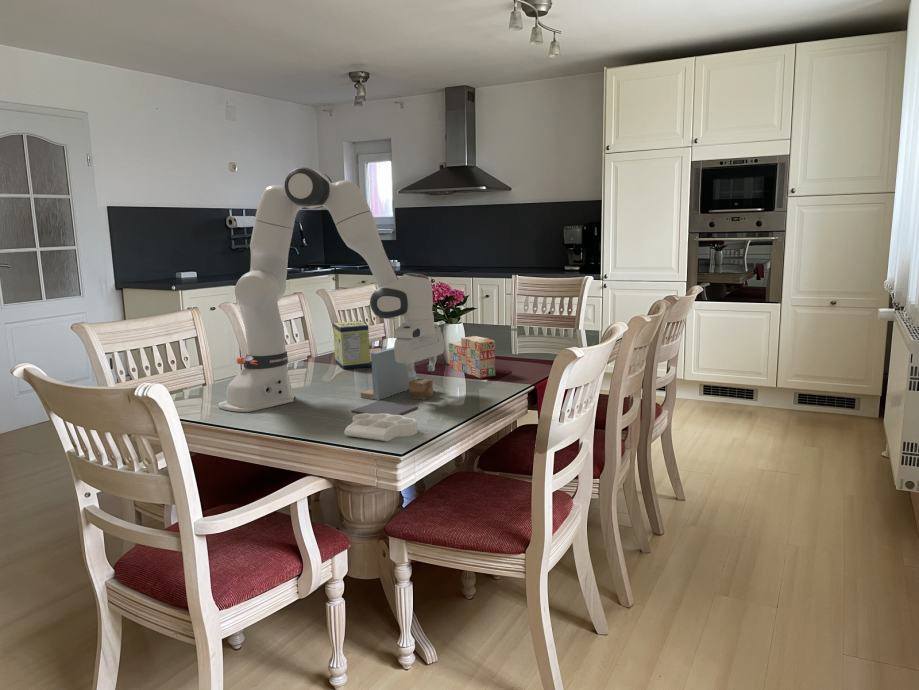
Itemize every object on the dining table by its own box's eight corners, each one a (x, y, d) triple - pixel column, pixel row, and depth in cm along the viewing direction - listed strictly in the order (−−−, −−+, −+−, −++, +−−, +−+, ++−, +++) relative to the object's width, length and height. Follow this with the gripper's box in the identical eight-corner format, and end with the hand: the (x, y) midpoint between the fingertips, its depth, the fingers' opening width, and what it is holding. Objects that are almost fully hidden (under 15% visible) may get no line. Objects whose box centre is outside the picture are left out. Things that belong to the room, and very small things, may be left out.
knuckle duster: (334, 437, 165) (368, 421, 178) (396, 446, 157) (427, 429, 170) (333, 424, 165) (367, 409, 178) (395, 432, 157) (426, 416, 170)
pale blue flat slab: (378, 400, 199) (376, 353, 196) (360, 397, 203) (358, 351, 200) (415, 387, 214) (413, 343, 211) (398, 385, 217) (396, 342, 215)
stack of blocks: (449, 368, 243) (448, 334, 241) (464, 365, 246) (463, 332, 244) (480, 378, 224) (479, 342, 222) (496, 375, 227) (495, 340, 225)
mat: (390, 418, 179) (390, 416, 179) (351, 412, 186) (351, 410, 186) (418, 408, 189) (417, 406, 188) (379, 402, 196) (379, 400, 196)
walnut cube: (423, 400, 198) (422, 382, 197) (409, 398, 201) (408, 381, 200) (433, 396, 202) (432, 379, 201) (419, 394, 205) (419, 377, 204)
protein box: (361, 359, 262) (359, 320, 260) (371, 367, 248) (368, 325, 245) (334, 362, 259) (332, 322, 256) (343, 370, 244) (340, 327, 242)
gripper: (431, 322, 208) (433, 366, 210) (389, 332, 191) (392, 380, 194) (448, 323, 205) (450, 368, 207) (406, 334, 188) (409, 382, 190)
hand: (421, 374), depth 200 cm, fingers open, 8 cm apart
